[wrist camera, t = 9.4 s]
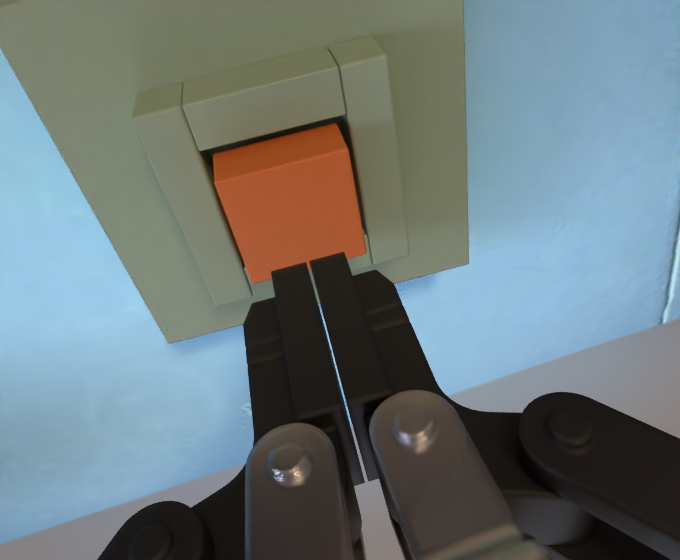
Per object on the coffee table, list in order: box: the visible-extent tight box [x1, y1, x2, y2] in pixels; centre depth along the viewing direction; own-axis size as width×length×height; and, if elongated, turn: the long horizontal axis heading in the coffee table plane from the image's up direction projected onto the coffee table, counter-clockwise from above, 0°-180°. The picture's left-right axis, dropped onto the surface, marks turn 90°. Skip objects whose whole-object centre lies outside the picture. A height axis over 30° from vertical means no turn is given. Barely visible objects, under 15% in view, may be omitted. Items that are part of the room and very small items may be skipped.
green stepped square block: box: [0, 0, 469, 344], centre depth 16 cm, size 11×11×4 cm
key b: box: [213, 123, 367, 283], centre depth 14 cm, size 3×3×2 cm
